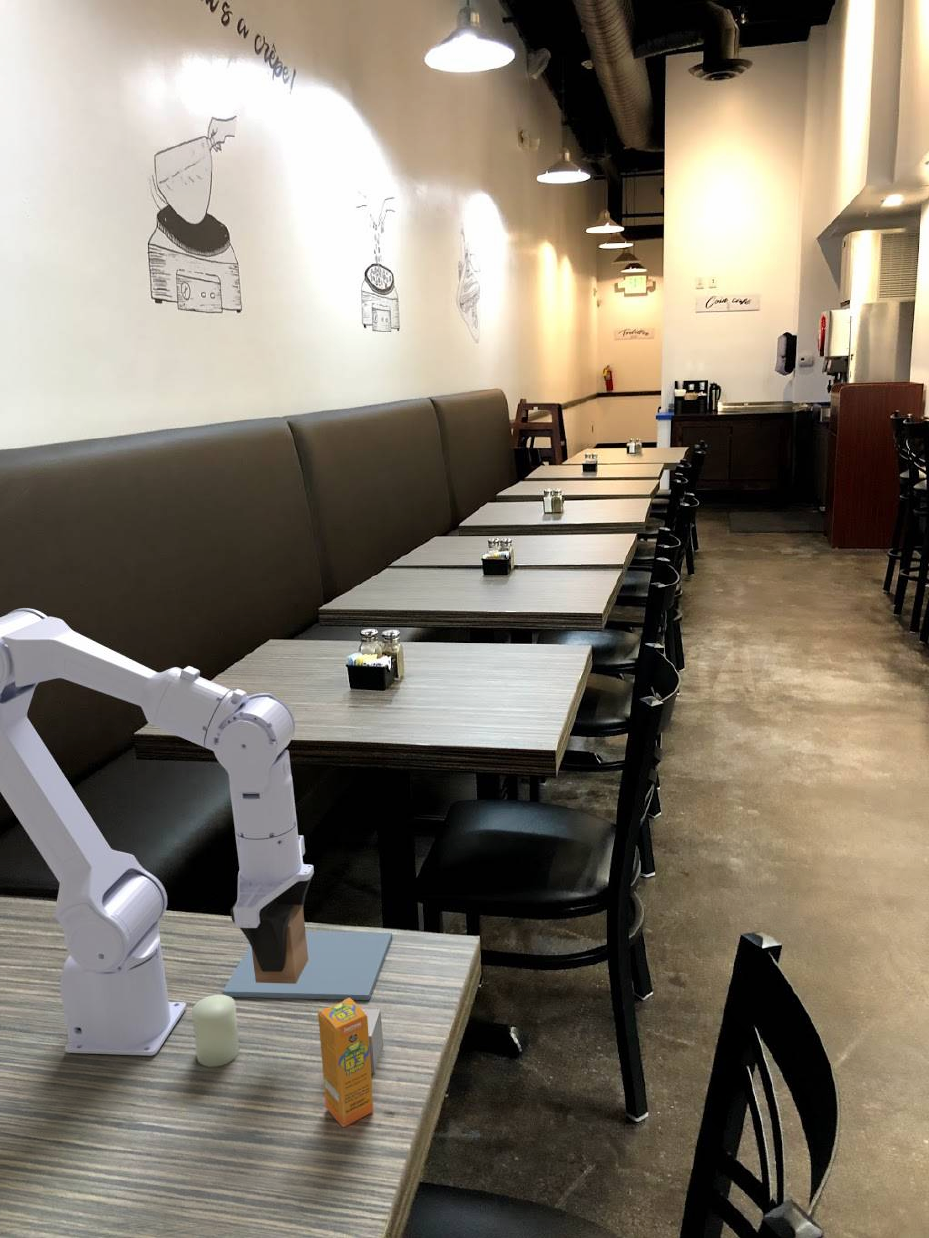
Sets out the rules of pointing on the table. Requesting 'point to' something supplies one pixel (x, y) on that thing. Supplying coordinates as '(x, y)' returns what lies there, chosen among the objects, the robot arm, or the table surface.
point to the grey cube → (374, 1036)
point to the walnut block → (288, 953)
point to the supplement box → (346, 1061)
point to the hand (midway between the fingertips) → (280, 955)
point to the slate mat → (322, 969)
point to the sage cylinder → (215, 1030)
